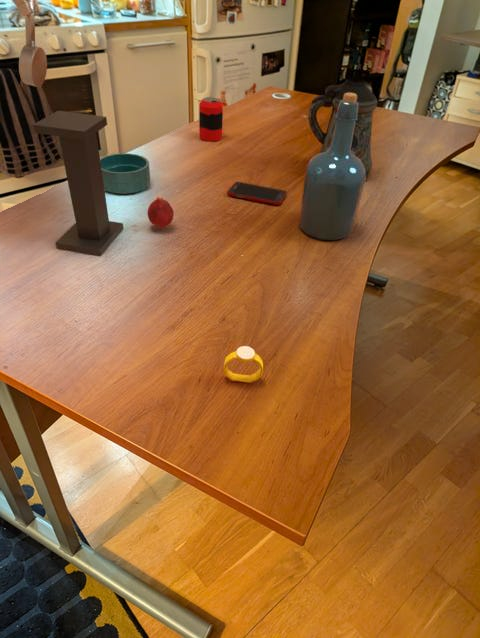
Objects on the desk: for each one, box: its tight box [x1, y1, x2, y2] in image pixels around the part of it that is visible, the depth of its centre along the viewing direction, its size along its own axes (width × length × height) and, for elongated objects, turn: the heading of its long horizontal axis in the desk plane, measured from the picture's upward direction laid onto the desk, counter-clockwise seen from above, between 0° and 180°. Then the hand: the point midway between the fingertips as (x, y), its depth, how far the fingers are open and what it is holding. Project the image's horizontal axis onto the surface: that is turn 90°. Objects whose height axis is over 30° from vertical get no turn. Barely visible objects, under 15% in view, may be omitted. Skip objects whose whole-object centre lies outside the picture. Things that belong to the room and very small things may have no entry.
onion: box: [146, 194, 175, 229], centre depth 104 cm, size 6×6×8 cm
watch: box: [223, 345, 264, 384], centre depth 70 cm, size 6×3×6 cm, turn 87°
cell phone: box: [226, 181, 288, 206], centre depth 122 cm, size 8×15×1 cm, turn 71°
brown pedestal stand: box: [32, 110, 124, 257], centre depth 93 cm, size 10×12×25 cm
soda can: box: [198, 96, 224, 143], centre depth 150 cm, size 8×8×12 cm
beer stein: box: [307, 77, 378, 178], centre depth 129 cm, size 16×19×25 cm
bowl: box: [100, 152, 151, 195], centre depth 121 cm, size 13×13×6 cm
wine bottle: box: [298, 93, 367, 241], centre depth 101 cm, size 14×13×30 cm
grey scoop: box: [18, 0, 48, 88], centre depth 86 cm, size 16×7×2 cm
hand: (31, 14), depth 84 cm, fingers closed on grey scoop, 1 cm apart
